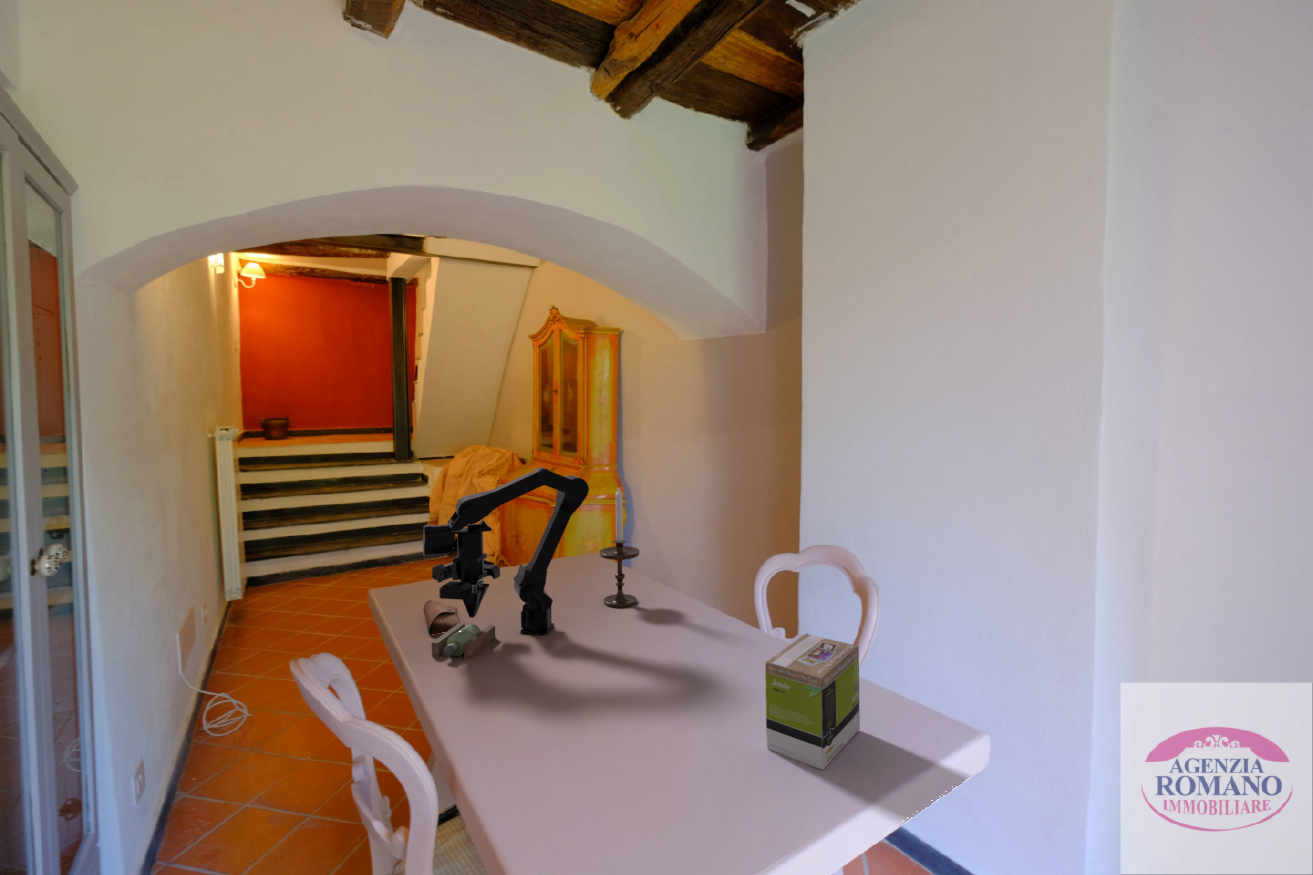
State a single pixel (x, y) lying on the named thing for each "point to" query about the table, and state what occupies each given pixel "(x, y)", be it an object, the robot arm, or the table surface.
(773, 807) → the table surface
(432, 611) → the sunglasses case
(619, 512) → the candlestick
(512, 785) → the table surface
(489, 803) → the table surface
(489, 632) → the cradle
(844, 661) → the tea box
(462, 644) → the bottle
